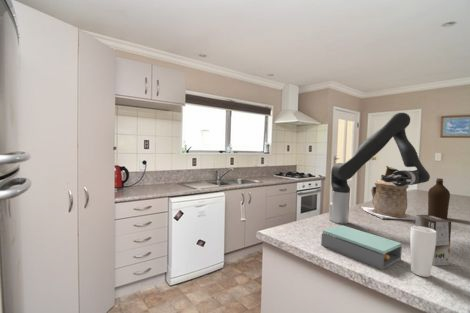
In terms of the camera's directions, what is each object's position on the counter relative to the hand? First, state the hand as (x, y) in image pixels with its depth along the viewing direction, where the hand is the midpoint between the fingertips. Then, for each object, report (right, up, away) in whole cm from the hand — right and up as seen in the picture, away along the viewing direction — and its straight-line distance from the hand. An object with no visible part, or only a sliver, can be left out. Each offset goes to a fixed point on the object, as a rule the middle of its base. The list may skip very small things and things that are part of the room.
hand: (386, 179), depth 106 cm
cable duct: (-18, -28, -11) cm, 35 cm away
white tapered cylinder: (-5, -29, -26) cm, 39 cm away
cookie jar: (+32, -28, +49) cm, 65 cm away
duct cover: (-18, -22, -11) cm, 31 cm away
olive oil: (+62, -29, +47) cm, 83 cm away
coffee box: (+7, -29, -16) cm, 34 cm away
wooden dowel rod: (-18, -27, -11) cm, 34 cm away
